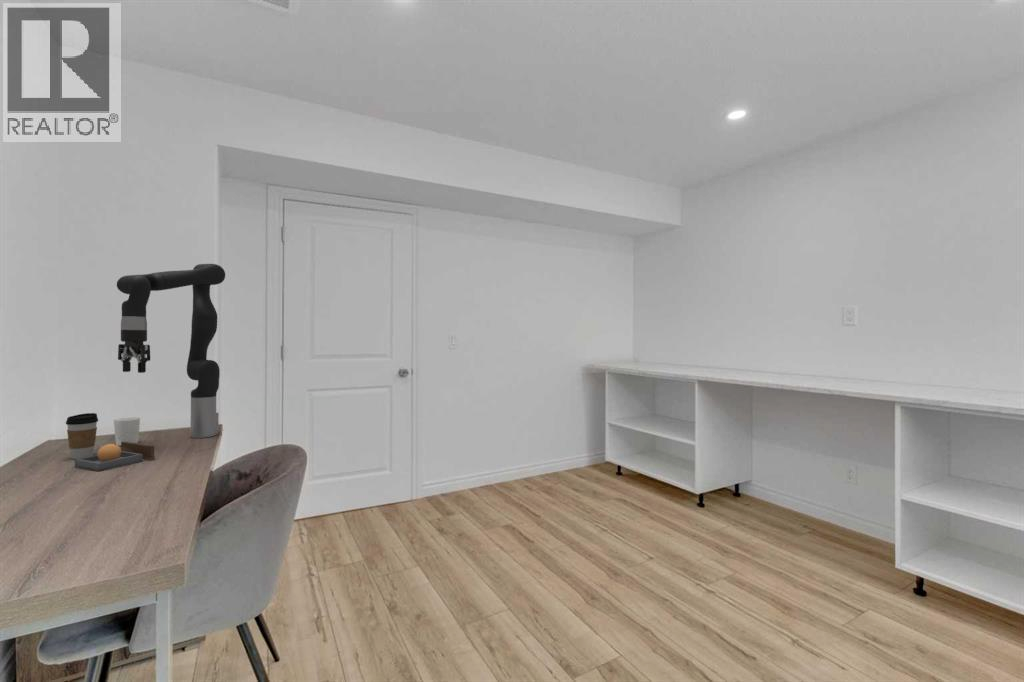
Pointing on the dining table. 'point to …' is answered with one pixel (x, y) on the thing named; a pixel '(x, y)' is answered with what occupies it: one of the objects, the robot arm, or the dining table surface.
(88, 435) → the coffee cup
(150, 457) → the fence
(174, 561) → the dining table surface
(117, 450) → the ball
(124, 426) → the white cup
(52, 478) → the dining table surface
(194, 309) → the robot arm
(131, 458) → the tray
